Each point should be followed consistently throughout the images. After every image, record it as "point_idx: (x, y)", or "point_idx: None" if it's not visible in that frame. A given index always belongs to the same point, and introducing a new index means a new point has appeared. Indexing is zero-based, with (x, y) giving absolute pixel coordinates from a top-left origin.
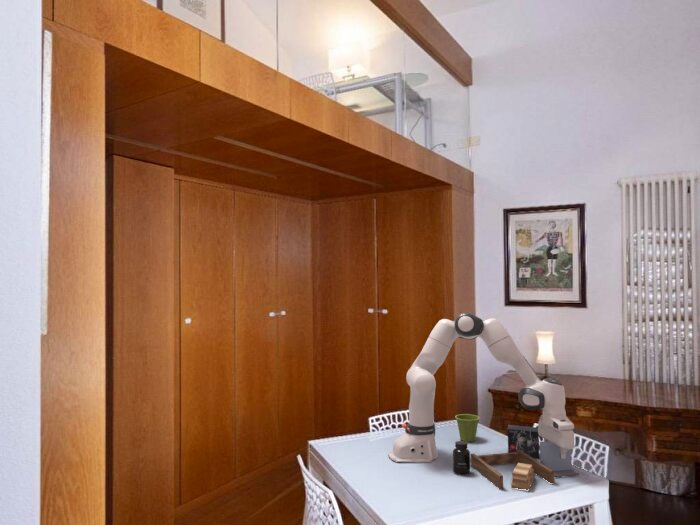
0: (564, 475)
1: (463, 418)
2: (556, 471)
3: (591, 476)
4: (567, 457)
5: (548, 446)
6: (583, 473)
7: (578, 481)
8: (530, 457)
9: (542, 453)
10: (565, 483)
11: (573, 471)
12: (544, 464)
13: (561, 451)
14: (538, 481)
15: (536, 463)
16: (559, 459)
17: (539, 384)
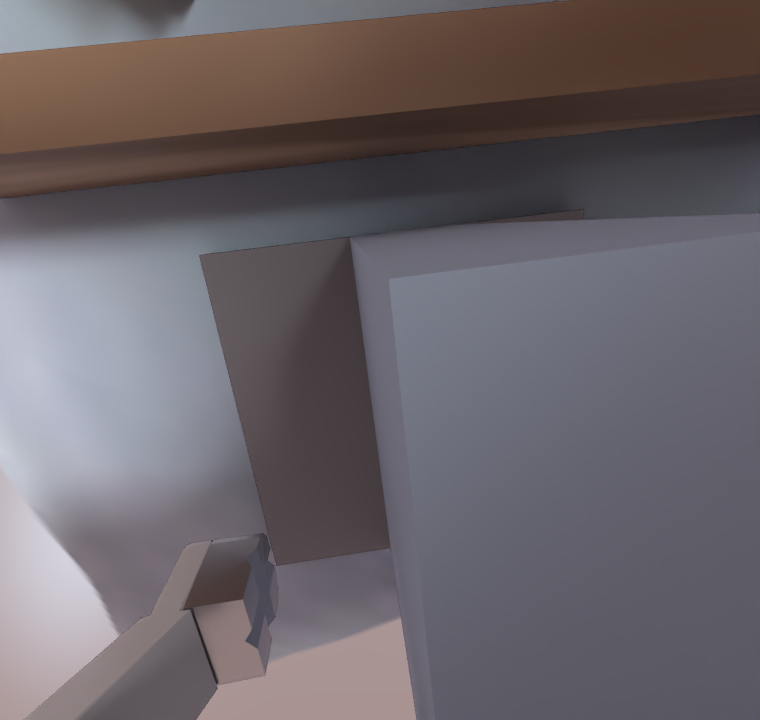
0: (241, 419)
1: None
2: (349, 382)
3: None
4: (404, 631)
5: (399, 492)
6: (329, 599)
7: (124, 490)
8: (612, 44)
9: (441, 234)
10: (49, 342)
11: (333, 541)
12: (355, 238)
13: (90, 693)
14: (84, 6)
15: (306, 34)
16: (388, 510)
17: None
